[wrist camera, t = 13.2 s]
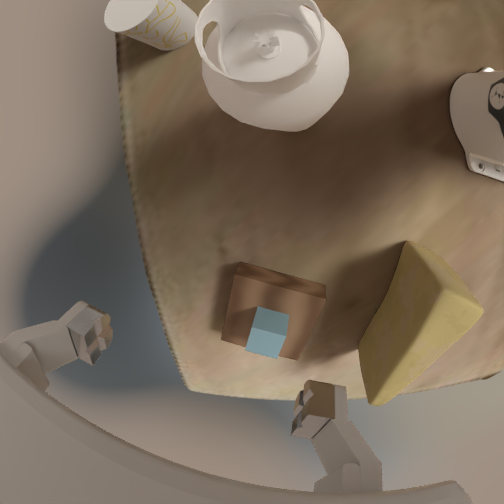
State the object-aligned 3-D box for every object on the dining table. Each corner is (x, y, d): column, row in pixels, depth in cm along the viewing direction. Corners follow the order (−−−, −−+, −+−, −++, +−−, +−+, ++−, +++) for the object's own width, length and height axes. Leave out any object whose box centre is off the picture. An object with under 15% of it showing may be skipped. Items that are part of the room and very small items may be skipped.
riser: (325, 285, 42) (326, 299, 39) (298, 345, 49) (297, 360, 45) (240, 261, 43) (234, 274, 40) (226, 325, 50) (220, 339, 46)
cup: (159, 59, 32) (112, 43, 21) (144, 26, 29) (99, 6, 18) (206, 33, 29) (169, 4, 18) (188, -1, 26) (150, -31, 16)
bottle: (326, 128, 33) (391, 117, 8) (267, 135, 34) (172, 147, 10) (316, 72, 29) (338, -52, 4) (257, 80, 31) (148, -13, 6)
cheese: (379, 352, 46) (391, 414, 33) (338, 339, 47) (343, 405, 33) (447, 260, 36) (489, 313, 23) (405, 236, 36) (445, 289, 23)
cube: (289, 314, 41) (286, 336, 37) (280, 337, 43) (276, 358, 39) (257, 306, 41) (251, 327, 37) (251, 329, 44) (244, 350, 39)
